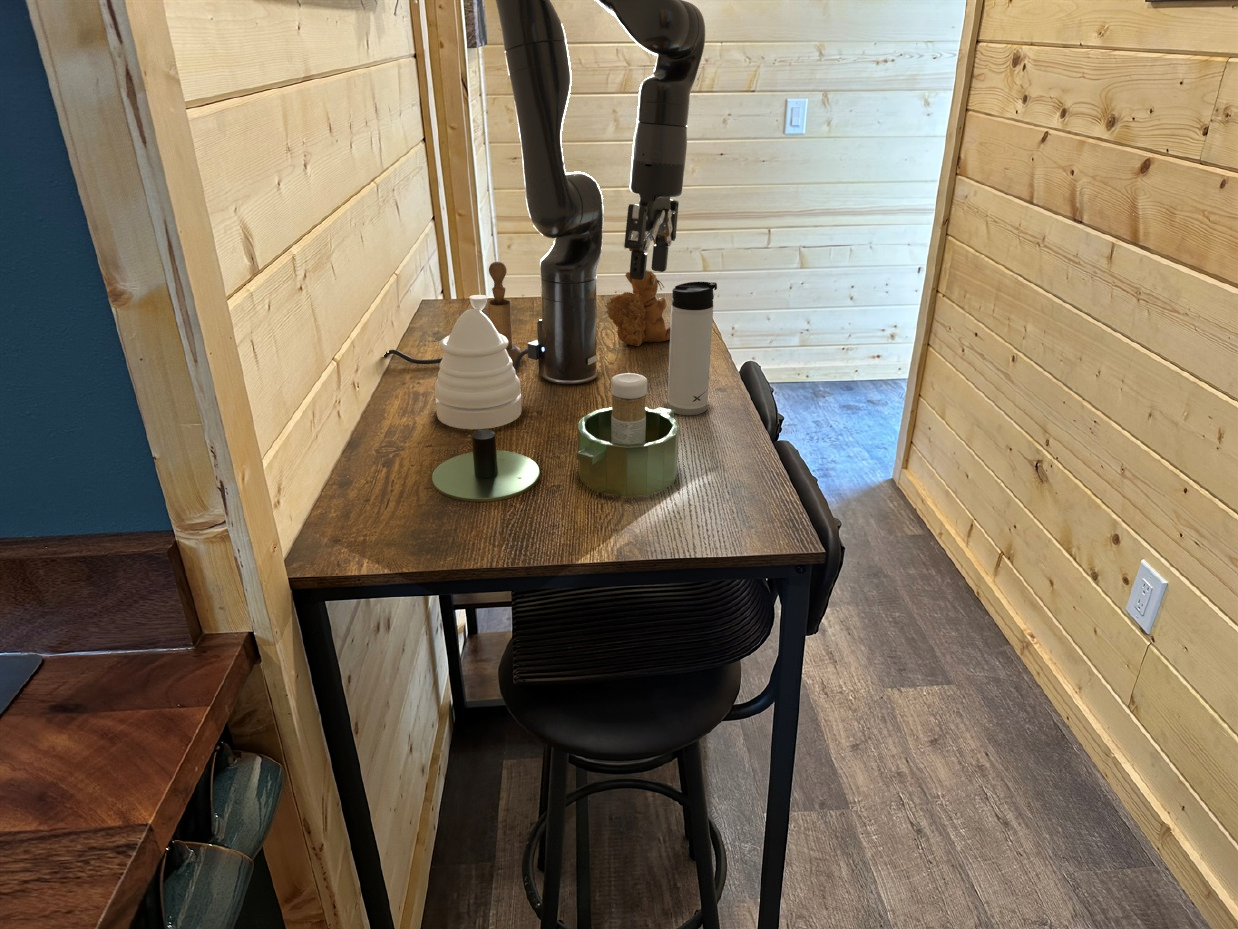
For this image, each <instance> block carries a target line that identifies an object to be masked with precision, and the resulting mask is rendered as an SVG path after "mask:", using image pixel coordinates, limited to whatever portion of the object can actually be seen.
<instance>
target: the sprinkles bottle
mask: <svg viewBox="0 0 1238 929" xmlns="http://www.w3.org/2000/svg"><path fill="white" fill-rule="evenodd" d="M647 393H648V378H647V377H645V376H644V375H642V374H638V373H633V372H632V373H631V372H626V373H625V372H623V373H619V374H615V375H614V376H612V377H611V379H610V394H611V407H612V417H611V443H618V444H643V443H645V433H646V415H645V408H646V398H647Z"/></svg>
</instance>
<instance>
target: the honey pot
mask: <svg viewBox="0 0 1238 929" xmlns="http://www.w3.org/2000/svg"><path fill="white" fill-rule="evenodd" d="M469 303H470V305H471V307H472V308H468V309H466V310H465V311H464V312H462V313H461V314H460V316H459V317H458V318H457V320H456V322H455V324H454V325H453V327H452V330H451V332H450V334H449V335H447V336H445V337H443V338H442V339H441V340H440V343H439V347H440V350H442V351H443V356H442V358H443V359H442V361H441V363H439V370H438V372H437V379H436V381H435V383H434V388H433V389H434V396H435V398H434V399H435V409H436V410H435V411H436V416H437V419H438V421H440V422H441V423H442V424H444V425H446V426H449V427H451V428H457V429H463V430H487V429H494V428H498V427H503V426H505V425H507V424H509V423H512V422H514V421H516V420H517V419H518V418H519V417H520V416H522V410H523V409H522V393H521V391H522V389H521V381H520V378H519V376H517V374H516V372H517V371H516V369H514V367H513V366H512V363H513V362H512V360H511V358H510V357H509V355H508V353H507V351H506V348H507V346H508V340H507V338H506V337H505V336H503V335H501V334H498V332H497V330H496V329H495V327H494V325H493V324H492V322H491V321H490V320H489V316H487V315H486V314H485V313H484V312H482V311H483V310H484V309H485V307H486V305H487V303H488V296H487V295H485V294H473V295H470V296H469Z"/></svg>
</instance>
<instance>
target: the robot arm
mask: <svg viewBox="0 0 1238 929" xmlns="http://www.w3.org/2000/svg"><path fill="white" fill-rule="evenodd" d="M595 1H596V2H597V3H598V4H599V5H600V6H601V7H603V8H604V9H605V10H606V11H607V12H608V13H610V14H611V15H612V16H614V17H615V18H616V19H617V21H618V22H619V24H620V25H621V26H622V27H623V29H624V30H625V32H626V33H627V34H628V35H629V37H630V38H631V39H632V40H633V41H634V42H635V43H636V44H637V45H638V46H639V47H641V48H642V49H643V50H645V51H646V52H648V53H650V54H652V55H654V56H657V58H656V62H655V67H654V69H653V74H652V75H651V76H648V77H647V78H645V79H644V80H643V81H642V82H641V84H640V87H639V92H638V94H639V95H638V106H637V118H636V127H635V132H634V136H633V144H632V154H631V155H632V156H631V167H630V180H629V181H630V182H629V191H630V192H631V193H633V194H637V195H639V199H638V204H636V203H629V204H628V206H627V214H626V225H625V234H624V236H625V237H624V243H623V245H624V248H625V249H627V250H629V252H630V262H629V263H630V264H629V273H630V278H632V279H637V280H642V279H644V278H645V275H646V270H647V262H648V251H649V248H650V245H651V243H652V242H653V247H652V257H651V259H652V260H651V271H652V272H659V273H663V272H667V266H668V258H669V249H670V248H669V247H671V245H672V242H674V241H676V239H677V230H678V228H677V227H678V216H679V203H680V202H679V200H678V199H677V200H676V199H671V198H677V197H680V196H681V195H682V194H683V189H684V188H683V187H684V178H685V169H686V160H687V159H686V158H687V149H688V122H689V114H690V113H689V112H690V99H691V98H690V97H691V93H692V90H693V86H694V84H695V81H696V78H697V75H698V71H699V68H700V64H701V61H702V57H703V53H704V50H705V49H704V48H705V44H706V23H705V19H704V16H703V14H702V11H701V10H700V9H699V7H698V6H696V5H695V4H693V3H691V2H690V1H686V0H595ZM495 4H496V9H497V14H498V15H497V16H498V17H499V24H500V29H501V34H502V35H501V36H502V42H503V50H504V54H505V61H506V66H507V72H508V76H509V80H510V85H511V86H510V87H511V90H512V95H513V102H514V105H515V107H514V108H515V113H516V114H515V115H516V120H517V124H518V125H517V126H518V133H519V139H520V147H521V155H522V168H523V178H524V190H525V200H526V207H527V211H528V216H529V218H530V221H531V222H532V224H533V227H534V228H535V230H536V231H537V232H538V233H539V234H540V235H541V236H543V237H545V238H548V239H554V241H553V245H552V246H551V248H550V249H549V251H548V252H547V253H546V254H545V255H544V256H543V257H542V258H541V259H540V262H539V276H540V278H539V281H540V283H539V284H540V308H541V309H540V310H541V319H539V320H537V322H536V330H537V333H536V334H537V339H535V340H533V341H531V342H527V343H526V344H527V348H525V349H523V350H522V351H520V354H519V355H518V356H517V359H516V362H515V364H514V365H512V366H513V367H514V369H515V370H516V369H518V368H519V366H520V364H521V362H522V359H523V357H524V356H526V355H527V359H531V360H534V361H538V363H537V364H538V365H537V366H538V375H539V376H542V378H543V379H544V380H546V381H548V382H549V383H554V384H559V385H581V384H586V383H589V382H592V381H593V380H595V379H596V378H597V377H598V369H597V368H598V367H597V366H598V364H597V363H598V351H597V350H598V347H597V344H598V342H597V340H598V338H597V337H598V336H597V335H598V334H597V333H598V331H597V330H598V329H597V328H598V327H597V326H598V325H597V324H598V322H597V320H598V319H597V318H598V317H597V316H598V314H597V310H598V308H597V300H598V299H597V296H598V295H597V273H598V272H597V269H598V265H599V263H600V261H601V257H602V251H603V235H604V234H603V230H604V202H603V195H602V191H601V190H600V186H599V184H598V183H597V181H596V180H595V179H594V178H593V177H592V176H590V175H589V174H587V173H585V172H581V171H574V172H566V169H565V163H564V156H563V148H562V131H563V124H564V119H565V115H566V111H567V107H568V103H569V98H570V95H571V94H570V93H571V86H572V70H571V62H570V56H569V50H568V44H567V38H566V33H565V29H564V26H563V23H562V21H561V19H560V17H559V15H558V13H557V12H558V11H556V9H555V7H554V5H553V4H552V2H551V0H495ZM388 350H389V353H387V351H385V352H386V354H385V355H384V357H383V358H388V357H389V356H391V355H396V356H398V357H399V358H402V359H403V360H406V361H407V362H409V363H412V364H416V365H434V364H440V363H441V361H442V359H443V357H440V358H432V359H417V358H413V357H411V356H409V355H407V354H405V353H403V351H399V350H398V349H388ZM520 361H521V362H520Z"/></svg>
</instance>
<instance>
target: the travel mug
mask: <svg viewBox="0 0 1238 929" xmlns="http://www.w3.org/2000/svg"><path fill="white" fill-rule="evenodd" d="M717 289H718V284H717V282H713V281H711V282H709V281H690V282H683V283H680V284H677V285H675V286H674V288H672V294H671V298H672V299H671V309H670V327H671V329H670V339H669V355H668V357H669V358H668V380H667V381H668V384H667V405H666V406H667V409H669V410H672V411H674V414H677V415H680V416H697V415H702V414H703V413H705V412H706V411H707V409H708V399H709V383H710V382H709V381H710V369H711V368H710V366H711V352H712V336H713V335H712V334H713V320H714V318H713V317H714V296H715V294H714V291H716V290H717Z"/></svg>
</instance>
